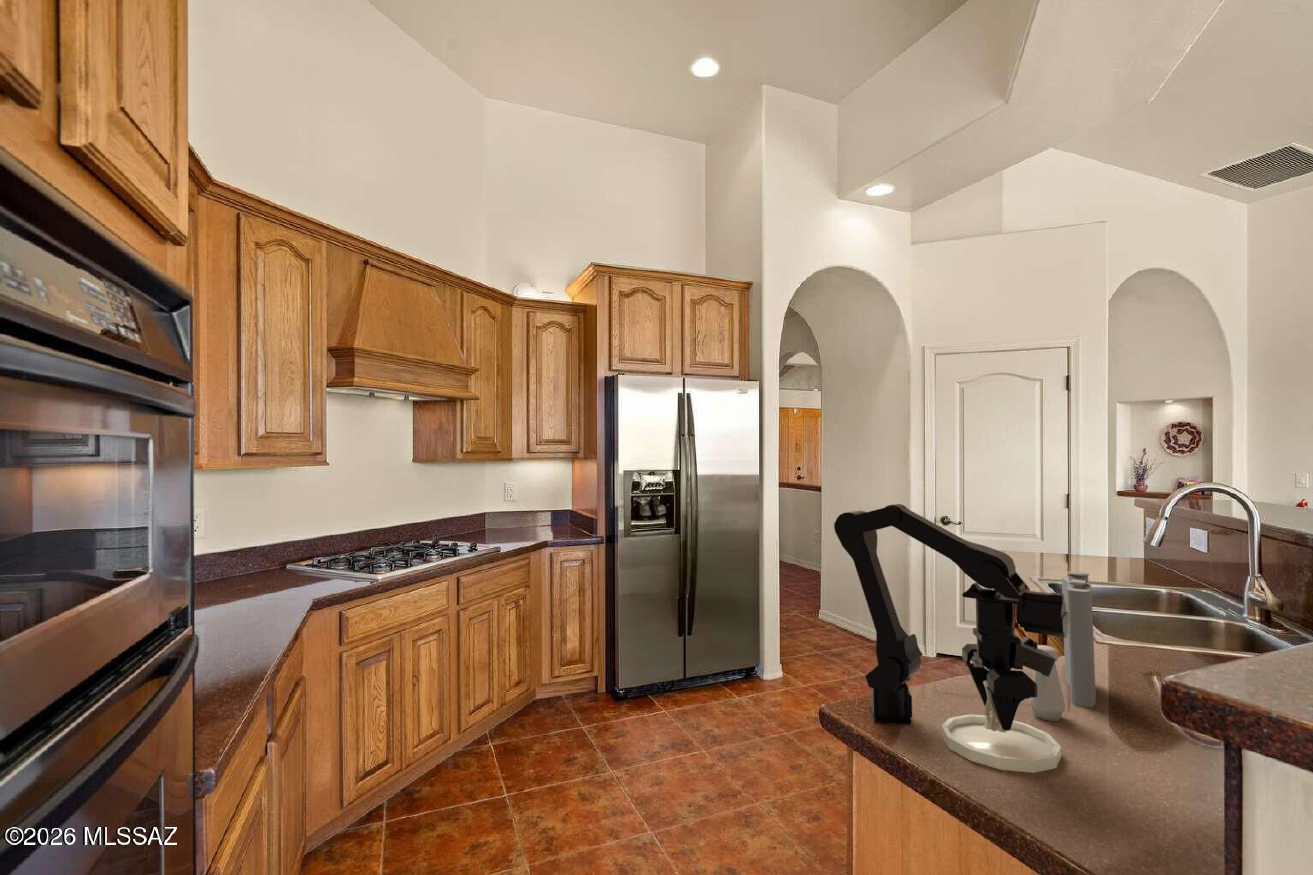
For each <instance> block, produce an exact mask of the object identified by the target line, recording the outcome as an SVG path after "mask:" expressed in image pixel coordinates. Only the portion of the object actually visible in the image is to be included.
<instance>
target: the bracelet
mask: <svg viewBox="0 0 1313 875" xmlns="http://www.w3.org/2000/svg"><path fill="white" fill-rule="evenodd" d="M983 684H984V686H985V689H986V693H987V702H986V706H984V716H986V722H985V725H984V726H985V728H986V729H991V730H992V731H997V730H998V731H999V732H1003V733H1004V732H1005V733H1006V732H1007V730H1003V729H1002V727H1001V725H999V724H1000V722H999V720H998V717H997V714H996V712H995V709H994V706H993V704H992V701H991V699H990V696H989V694H988V691H987V688H986V687H988V683H987V680H985V681H984V682H983ZM990 714H991V715H990ZM991 716H992V717H991ZM995 719H996V720H997V722H996V720H995Z"/></svg>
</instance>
